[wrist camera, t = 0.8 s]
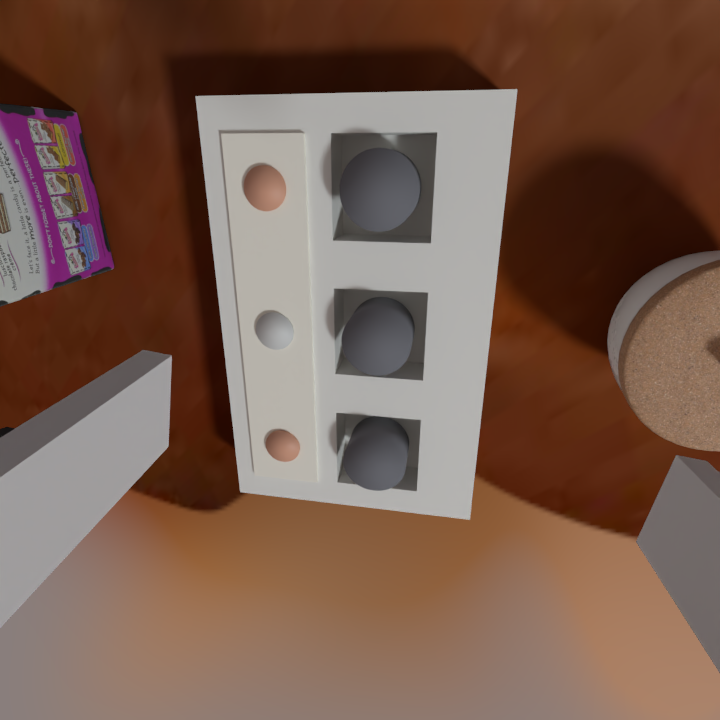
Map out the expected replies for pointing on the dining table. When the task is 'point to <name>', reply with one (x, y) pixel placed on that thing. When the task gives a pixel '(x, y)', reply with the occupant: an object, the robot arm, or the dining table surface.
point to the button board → (354, 284)
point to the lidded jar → (672, 350)
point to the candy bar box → (46, 204)
